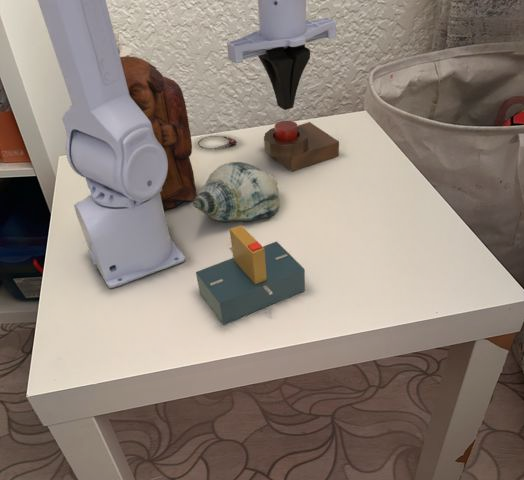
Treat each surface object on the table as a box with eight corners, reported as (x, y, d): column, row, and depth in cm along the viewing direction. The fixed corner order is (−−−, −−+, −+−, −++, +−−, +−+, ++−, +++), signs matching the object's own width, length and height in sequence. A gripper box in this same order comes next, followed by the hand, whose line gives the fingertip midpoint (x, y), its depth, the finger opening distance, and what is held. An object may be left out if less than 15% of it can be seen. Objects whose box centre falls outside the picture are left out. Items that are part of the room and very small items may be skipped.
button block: (279, 176, 77) (278, 149, 74) (252, 153, 82) (250, 127, 79) (338, 156, 80) (340, 129, 77) (309, 135, 85) (309, 109, 82)
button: (282, 145, 76) (281, 132, 74) (270, 136, 78) (270, 124, 76) (301, 138, 77) (301, 126, 75) (290, 130, 79) (289, 118, 77)
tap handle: (233, 260, 59) (229, 227, 56) (244, 255, 60) (241, 222, 57) (255, 285, 56) (252, 251, 53) (267, 280, 57) (264, 246, 54)
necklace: (232, 153, 83) (232, 147, 82) (194, 148, 84) (193, 142, 84) (240, 140, 86) (240, 134, 85) (203, 135, 87) (202, 129, 86)
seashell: (287, 223, 72) (197, 240, 70) (273, 176, 74) (185, 192, 72) (293, 194, 66) (194, 211, 64) (277, 144, 68) (182, 160, 66)
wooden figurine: (117, 222, 71) (73, 78, 58) (111, 198, 76) (69, 59, 63) (204, 202, 73) (181, 59, 60) (193, 180, 78) (170, 41, 65)
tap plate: (229, 334, 56) (226, 311, 54) (193, 285, 62) (189, 262, 59) (312, 298, 59) (312, 275, 56) (271, 255, 65) (269, 233, 62)
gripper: (242, 10, 60) (252, 131, 69) (352, -16, 64) (346, 102, 74) (214, -4, 64) (227, 112, 74) (319, -27, 68) (318, 86, 78)
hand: (285, 106), depth 74 cm, fingers closed
